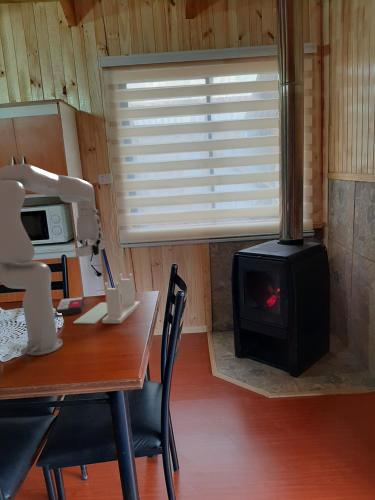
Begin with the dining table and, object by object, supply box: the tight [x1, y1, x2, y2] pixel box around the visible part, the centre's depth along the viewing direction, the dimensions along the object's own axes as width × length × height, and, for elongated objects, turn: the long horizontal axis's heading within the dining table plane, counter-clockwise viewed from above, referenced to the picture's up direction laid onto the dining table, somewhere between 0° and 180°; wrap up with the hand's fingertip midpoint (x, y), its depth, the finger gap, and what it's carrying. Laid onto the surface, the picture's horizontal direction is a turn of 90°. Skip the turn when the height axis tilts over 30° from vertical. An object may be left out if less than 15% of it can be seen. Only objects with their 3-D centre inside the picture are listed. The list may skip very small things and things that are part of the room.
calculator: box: [55, 296, 85, 316], centre depth 171 cm, size 11×4×15 cm
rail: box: [74, 240, 107, 258], centre depth 158 cm, size 20×4×4 cm, turn 166°
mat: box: [72, 301, 108, 325], centre depth 164 cm, size 26×10×1 cm, turn 167°
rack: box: [101, 273, 141, 324], centre depth 159 cm, size 24×8×16 cm, turn 167°
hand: (92, 254), depth 159 cm, fingers closed on rail, 3 cm apart
